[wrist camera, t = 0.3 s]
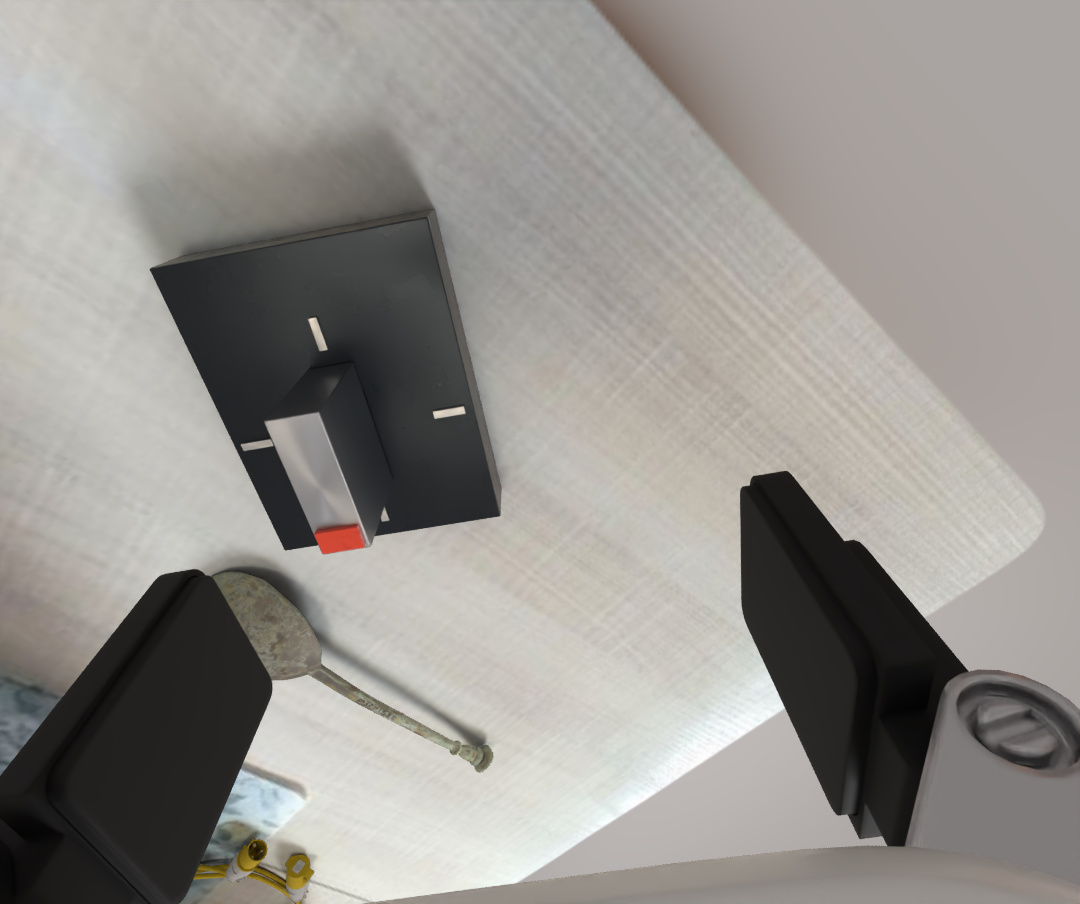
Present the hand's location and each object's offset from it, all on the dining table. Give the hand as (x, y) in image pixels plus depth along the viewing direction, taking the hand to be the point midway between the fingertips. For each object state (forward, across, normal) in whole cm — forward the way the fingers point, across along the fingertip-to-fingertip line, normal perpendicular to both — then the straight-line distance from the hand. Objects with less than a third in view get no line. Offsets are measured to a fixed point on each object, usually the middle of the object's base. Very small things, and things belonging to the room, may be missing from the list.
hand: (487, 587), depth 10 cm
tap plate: (+18, +8, +2) cm, 20 cm away
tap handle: (+16, +8, +3) cm, 18 cm away
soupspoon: (+19, +14, +21) cm, 31 cm away
